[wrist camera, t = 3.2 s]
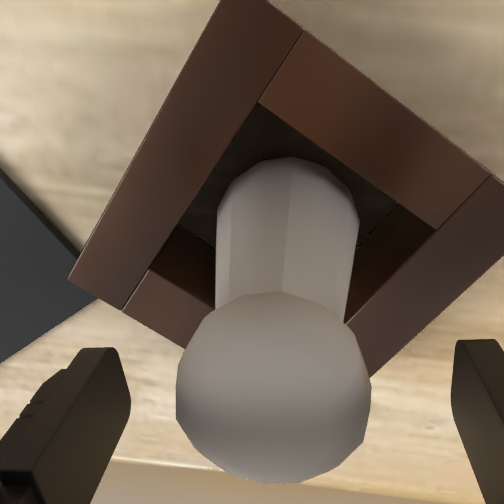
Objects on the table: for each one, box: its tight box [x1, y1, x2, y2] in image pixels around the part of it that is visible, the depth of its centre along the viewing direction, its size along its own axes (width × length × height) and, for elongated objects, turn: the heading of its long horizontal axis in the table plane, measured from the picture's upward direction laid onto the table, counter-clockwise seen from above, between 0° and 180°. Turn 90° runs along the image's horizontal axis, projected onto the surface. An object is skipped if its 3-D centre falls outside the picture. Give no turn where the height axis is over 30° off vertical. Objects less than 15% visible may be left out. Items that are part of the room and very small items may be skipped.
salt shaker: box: [176, 156, 372, 484], centre depth 15 cm, size 6×6×13 cm
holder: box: [67, 0, 504, 378], centre depth 19 cm, size 12×12×4 cm
